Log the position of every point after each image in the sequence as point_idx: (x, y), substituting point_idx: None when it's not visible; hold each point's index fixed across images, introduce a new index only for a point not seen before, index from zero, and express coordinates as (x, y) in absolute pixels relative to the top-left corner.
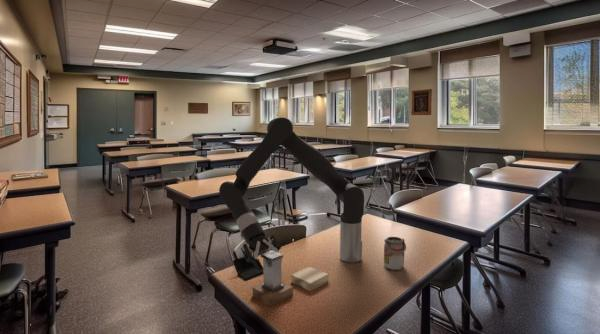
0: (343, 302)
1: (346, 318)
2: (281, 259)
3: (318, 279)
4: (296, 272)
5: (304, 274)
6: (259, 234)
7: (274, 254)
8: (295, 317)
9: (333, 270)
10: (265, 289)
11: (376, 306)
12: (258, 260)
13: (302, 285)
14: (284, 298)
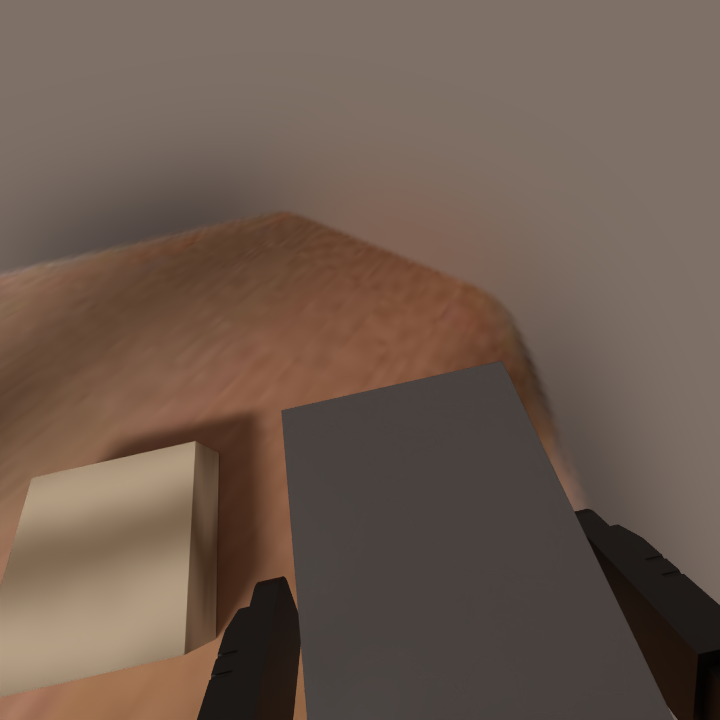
0: (197, 311)
1: (268, 246)
2: (242, 611)
3: (126, 457)
4: (127, 663)
5: (120, 578)
6: None
7: (395, 498)
8: (406, 317)
9: None
10: None
11: (148, 252)
12: (684, 617)
13: (212, 516)
14: None
